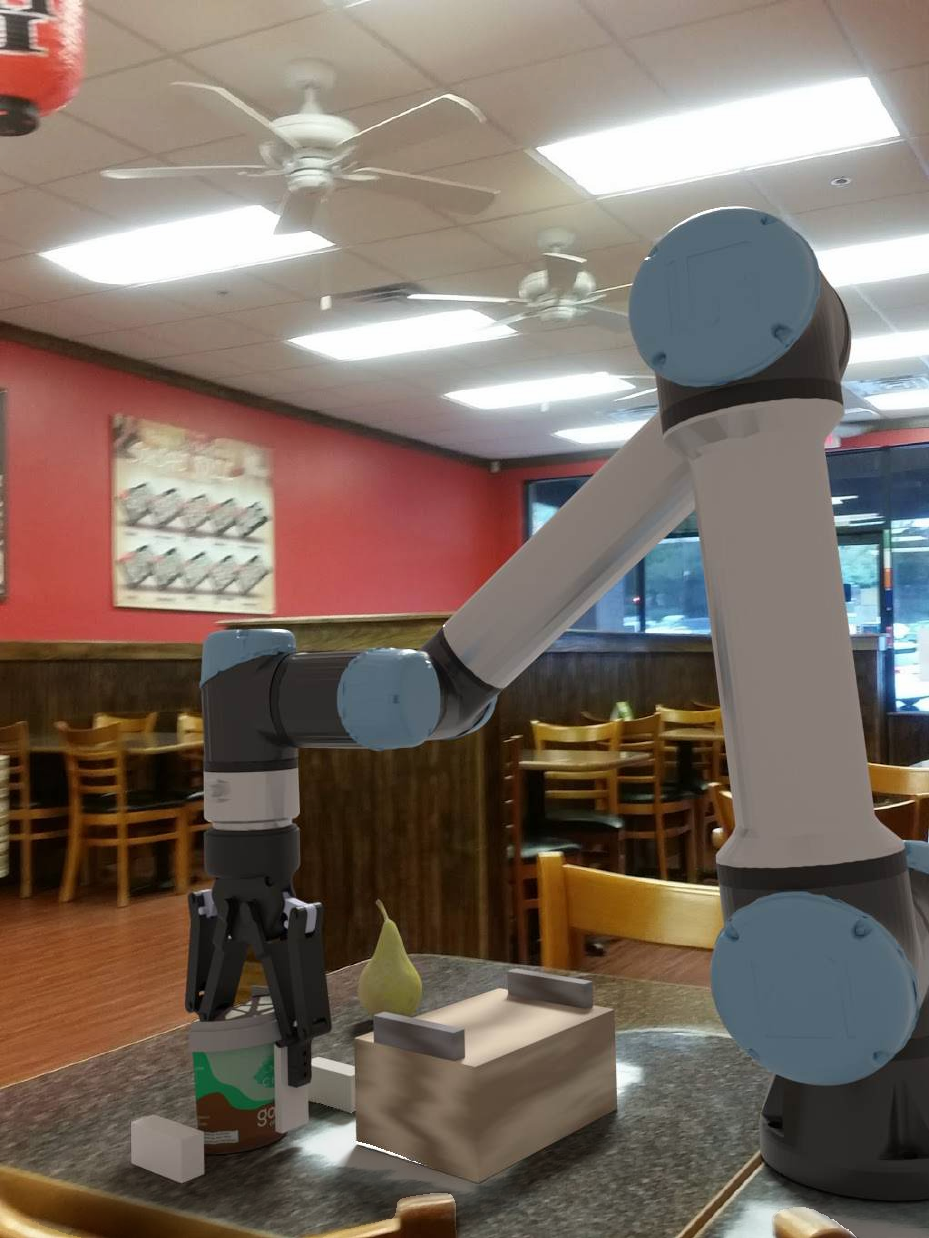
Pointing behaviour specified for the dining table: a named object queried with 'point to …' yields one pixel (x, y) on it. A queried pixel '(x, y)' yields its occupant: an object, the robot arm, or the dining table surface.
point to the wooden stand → (487, 1075)
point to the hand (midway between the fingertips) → (257, 1115)
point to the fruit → (389, 976)
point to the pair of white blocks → (183, 1147)
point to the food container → (236, 1075)
